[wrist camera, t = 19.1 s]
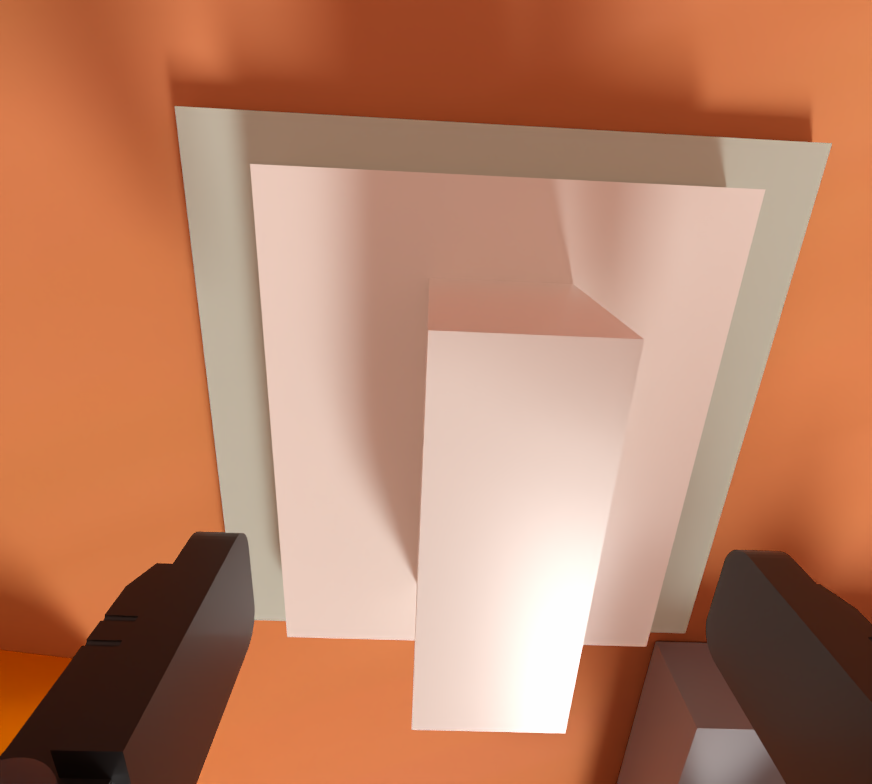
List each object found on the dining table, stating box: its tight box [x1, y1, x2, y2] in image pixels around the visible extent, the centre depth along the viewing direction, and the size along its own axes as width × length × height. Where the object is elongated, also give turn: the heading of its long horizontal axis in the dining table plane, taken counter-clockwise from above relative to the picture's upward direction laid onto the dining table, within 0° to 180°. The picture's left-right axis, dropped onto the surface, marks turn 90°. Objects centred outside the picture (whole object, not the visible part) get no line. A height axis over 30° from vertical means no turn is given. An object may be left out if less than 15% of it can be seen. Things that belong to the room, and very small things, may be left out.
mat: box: [175, 106, 832, 633], centre depth 14 cm, size 14×14×1 cm
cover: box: [250, 164, 766, 733], centre depth 11 cm, size 12×10×6 cm
